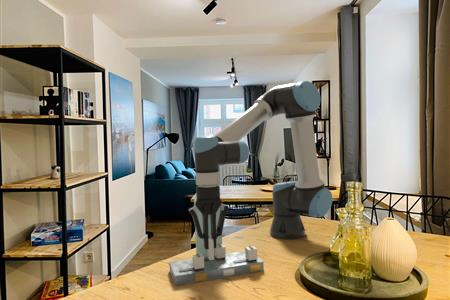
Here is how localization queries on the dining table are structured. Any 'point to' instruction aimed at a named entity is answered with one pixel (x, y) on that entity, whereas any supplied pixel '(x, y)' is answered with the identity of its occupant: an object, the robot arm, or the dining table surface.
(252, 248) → the switch
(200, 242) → the water bottle
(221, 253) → the switch
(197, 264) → the switch
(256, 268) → the console
